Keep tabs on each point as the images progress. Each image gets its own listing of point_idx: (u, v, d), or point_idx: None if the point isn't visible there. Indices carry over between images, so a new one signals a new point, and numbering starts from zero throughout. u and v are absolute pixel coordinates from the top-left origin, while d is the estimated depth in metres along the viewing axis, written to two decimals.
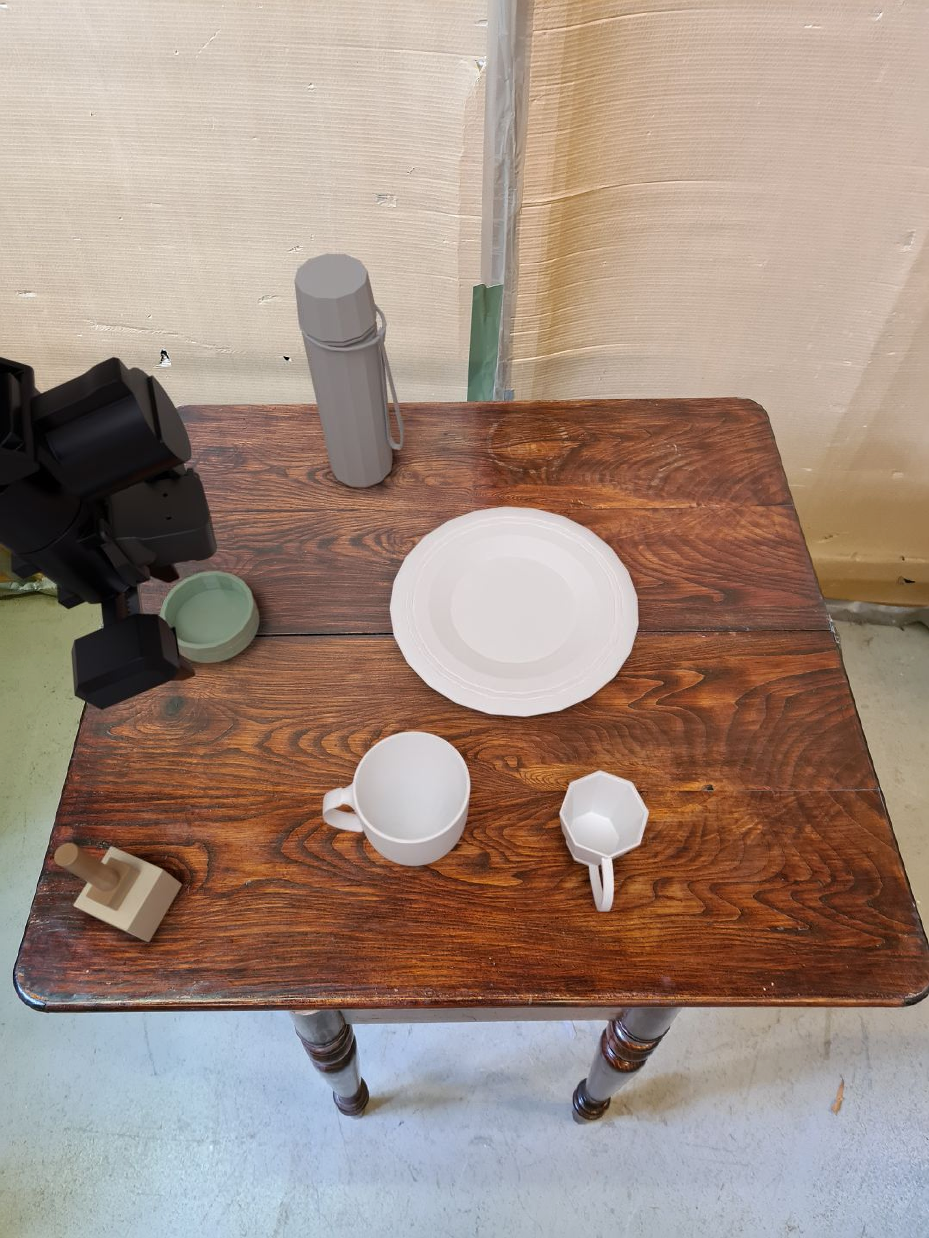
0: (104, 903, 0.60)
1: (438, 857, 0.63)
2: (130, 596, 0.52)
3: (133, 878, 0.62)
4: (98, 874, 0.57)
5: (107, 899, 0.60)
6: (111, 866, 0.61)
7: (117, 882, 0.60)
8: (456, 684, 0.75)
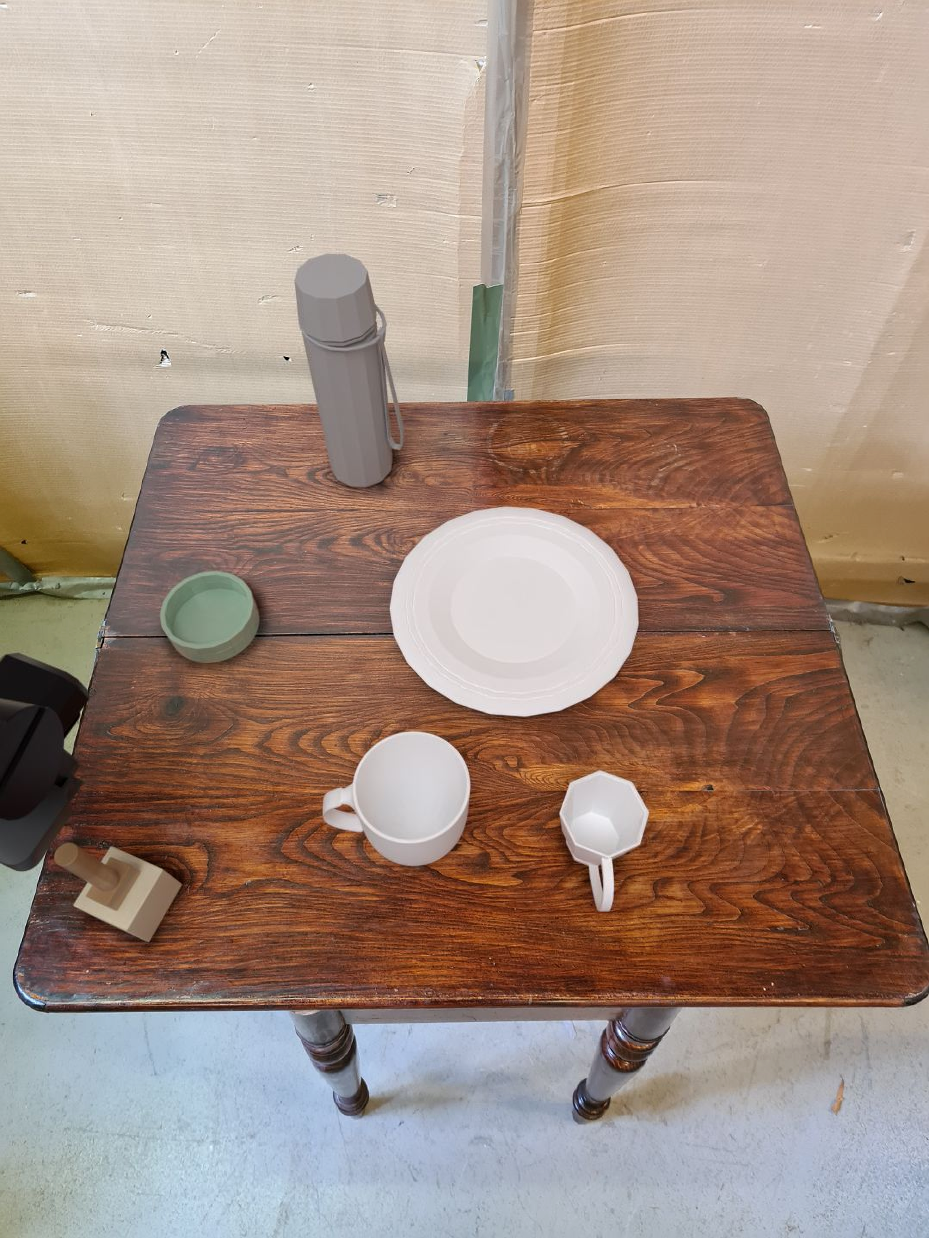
0: (104, 903, 0.60)
1: (438, 857, 0.63)
2: None
3: (133, 878, 0.62)
4: (98, 874, 0.57)
5: (107, 899, 0.60)
6: (111, 866, 0.61)
7: (117, 882, 0.60)
8: (456, 684, 0.75)
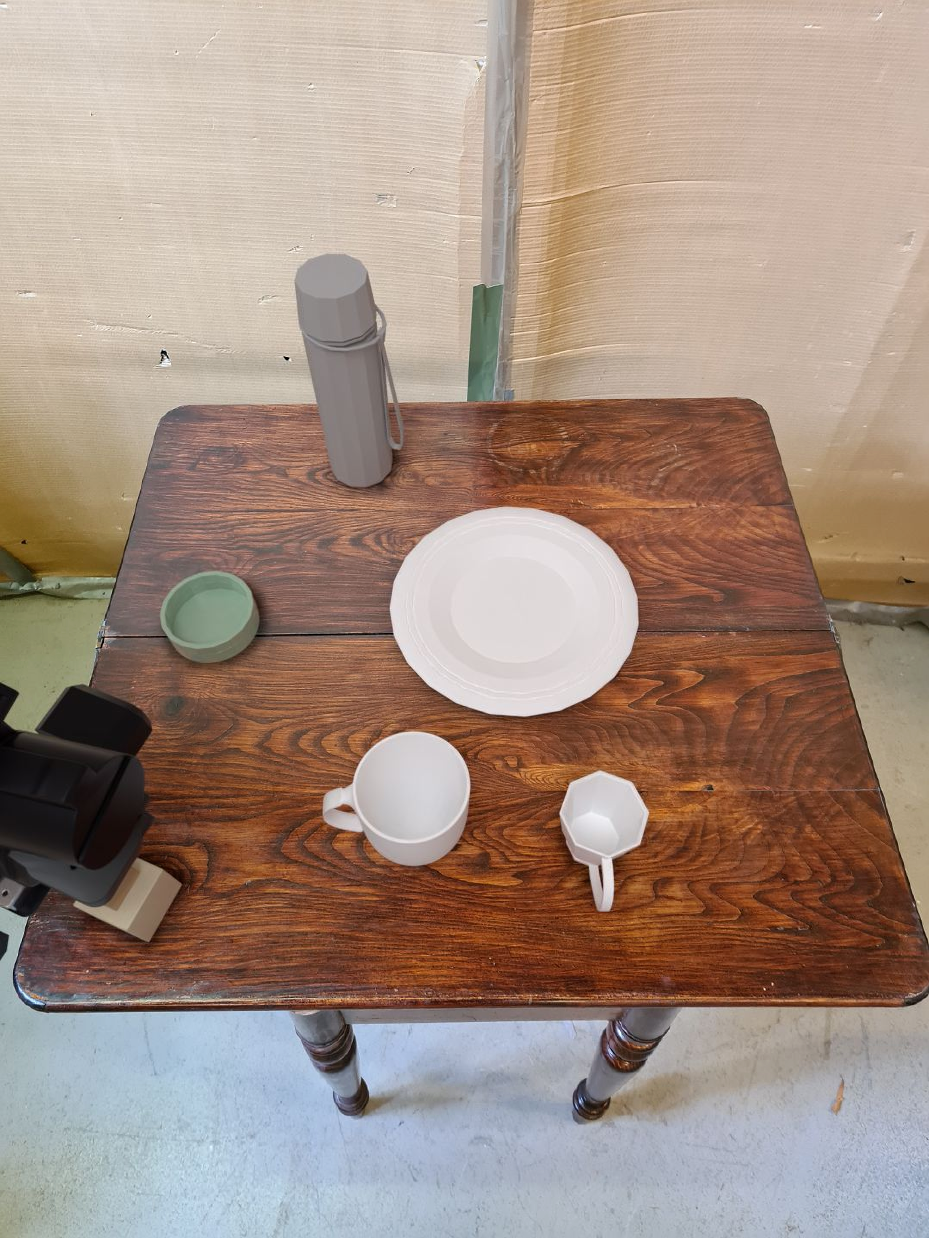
0: None
1: (438, 857, 0.63)
2: None
3: (133, 878, 0.62)
4: None
5: None
6: None
7: None
8: (456, 684, 0.75)
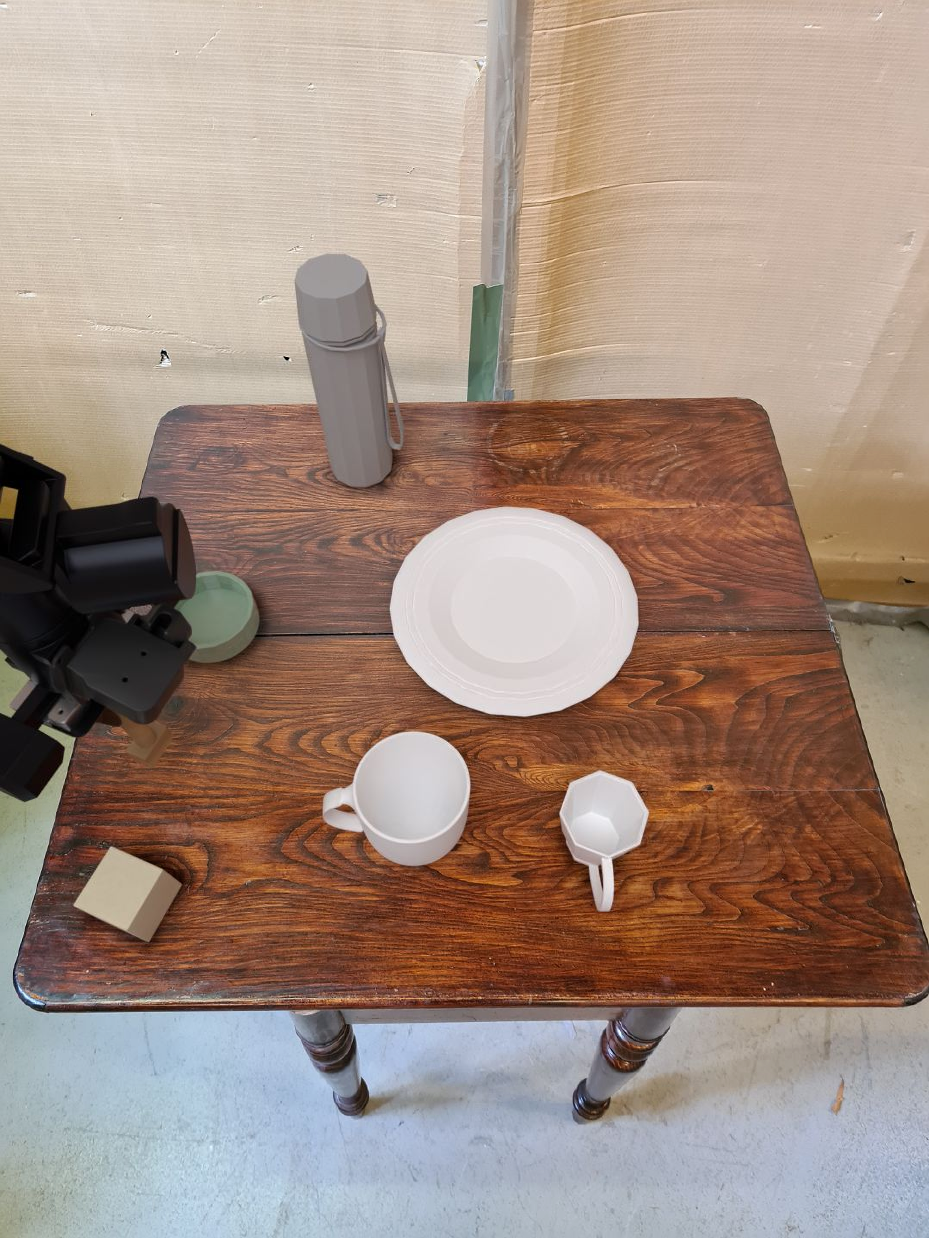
0: (142, 757, 0.65)
1: (438, 857, 0.63)
2: None
3: (168, 740, 0.67)
4: (138, 726, 0.62)
5: (145, 754, 0.65)
6: (148, 726, 0.66)
7: (154, 739, 0.65)
8: (456, 684, 0.75)
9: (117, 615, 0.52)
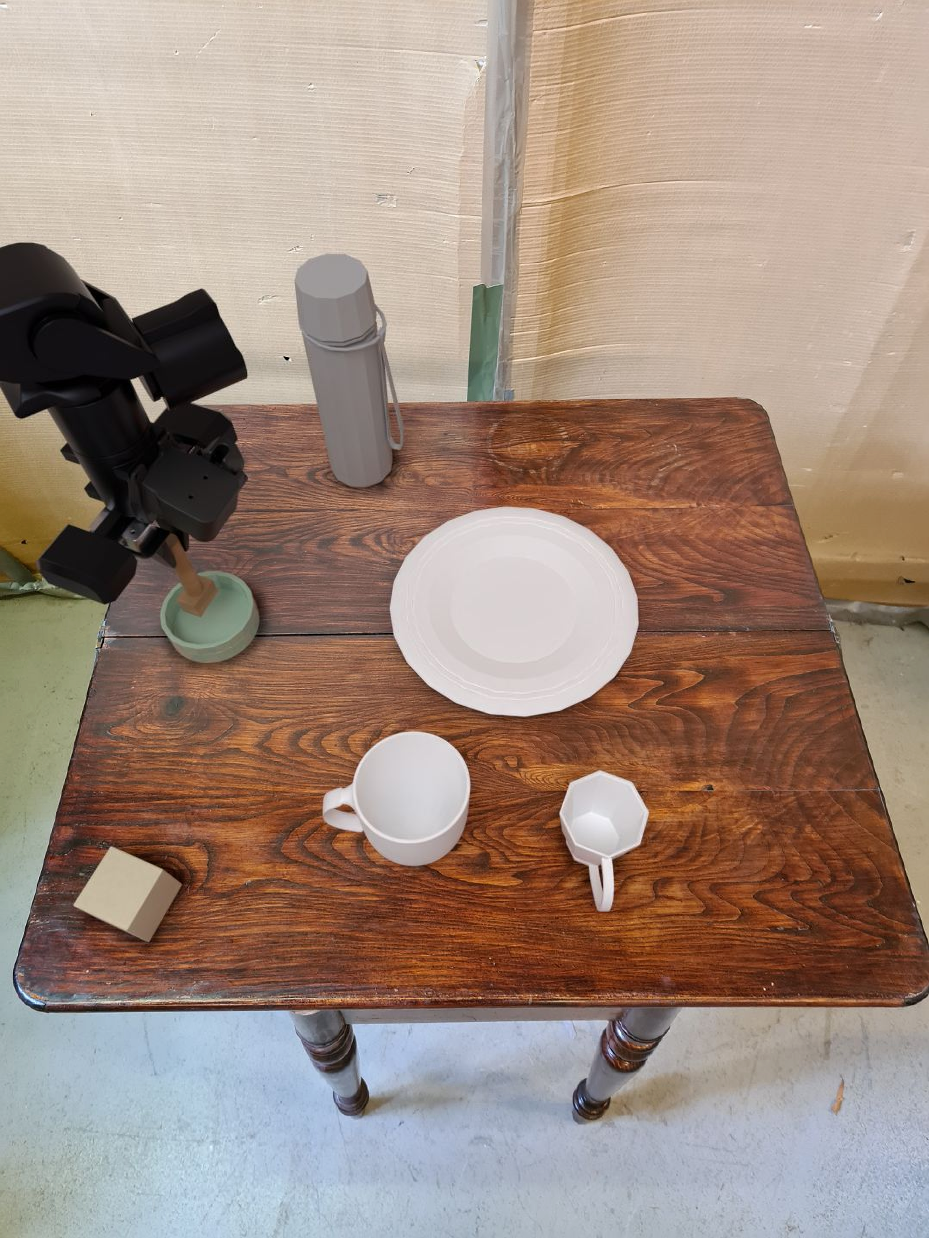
0: (192, 604, 0.73)
1: (438, 857, 0.63)
2: None
3: (213, 593, 0.75)
4: (189, 571, 0.71)
5: (194, 601, 0.73)
6: None
7: (202, 590, 0.74)
8: (456, 684, 0.75)
9: (181, 448, 0.60)
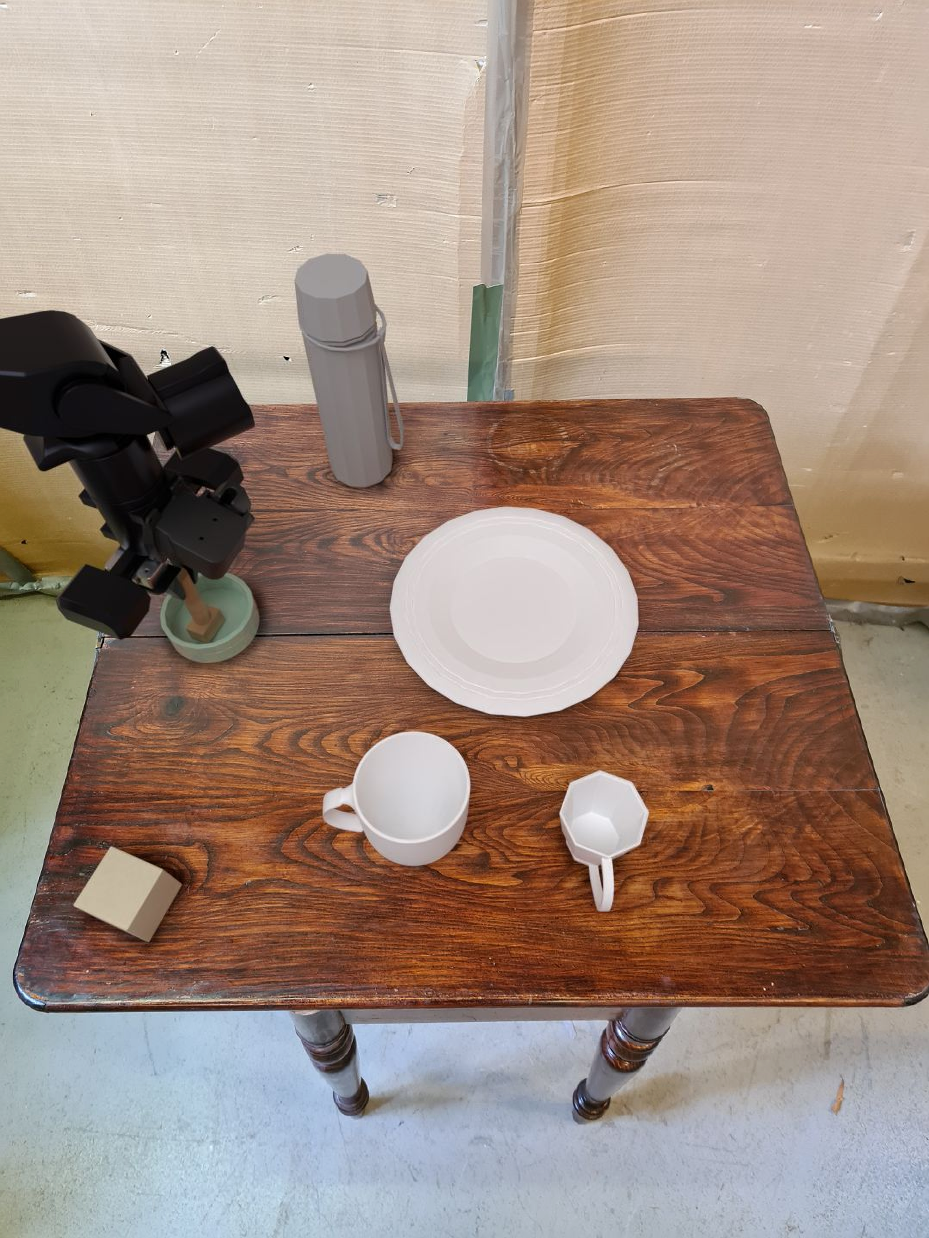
0: (200, 633, 0.77)
1: (438, 857, 0.63)
2: None
3: (220, 621, 0.79)
4: (198, 602, 0.74)
5: (202, 630, 0.77)
6: None
7: (210, 618, 0.77)
8: (456, 684, 0.75)
9: (191, 491, 0.64)
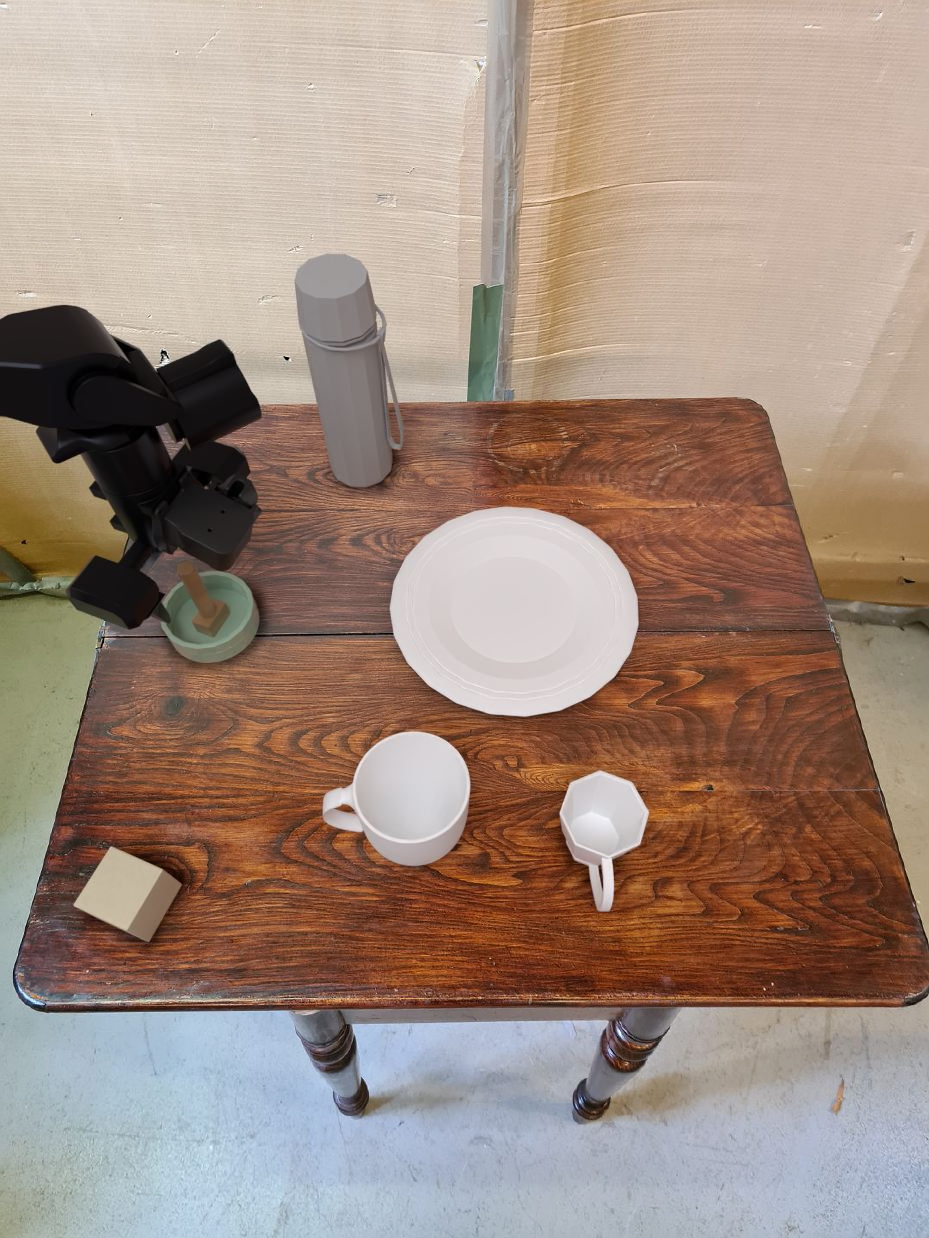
0: (206, 626, 0.78)
1: (438, 857, 0.63)
2: (154, 552, 0.65)
3: (226, 615, 0.80)
4: (204, 595, 0.75)
5: (208, 623, 0.78)
6: None
7: (215, 612, 0.78)
8: (456, 684, 0.75)
9: (199, 484, 0.65)
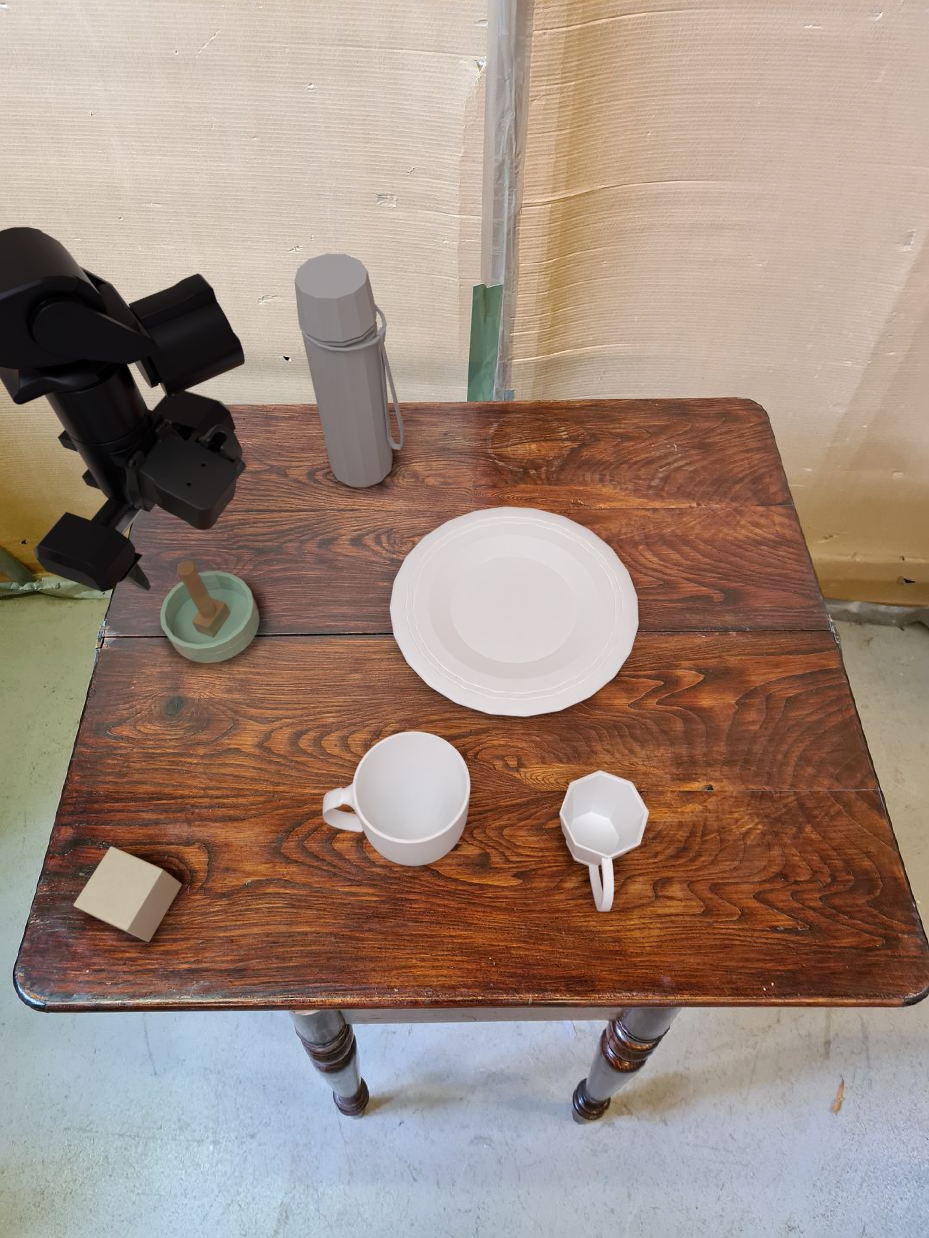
0: (206, 626, 0.78)
1: (438, 857, 0.63)
2: (130, 510, 0.61)
3: (226, 615, 0.80)
4: (204, 595, 0.75)
5: (208, 623, 0.78)
6: None
7: (215, 612, 0.78)
8: (456, 684, 0.75)
9: (179, 436, 0.60)
